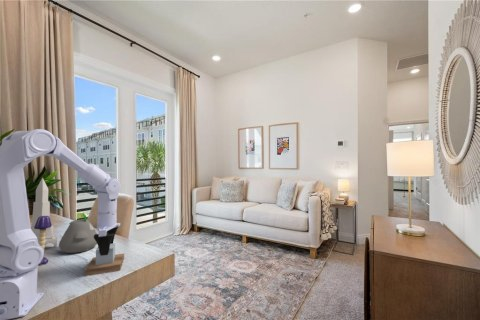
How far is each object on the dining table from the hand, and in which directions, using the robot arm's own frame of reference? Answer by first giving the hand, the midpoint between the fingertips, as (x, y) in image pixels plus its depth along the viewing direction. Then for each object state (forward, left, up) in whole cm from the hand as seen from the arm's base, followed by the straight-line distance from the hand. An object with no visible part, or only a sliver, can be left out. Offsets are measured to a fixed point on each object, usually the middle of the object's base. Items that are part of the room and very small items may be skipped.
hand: (106, 251), depth 75 cm
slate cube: (0, 0, -3) cm, 3 cm away
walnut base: (0, 0, -6) cm, 6 cm away
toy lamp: (+11, +22, -5) cm, 25 cm away
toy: (+23, +14, -6) cm, 27 cm away
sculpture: (+28, +29, -5) cm, 41 cm away
